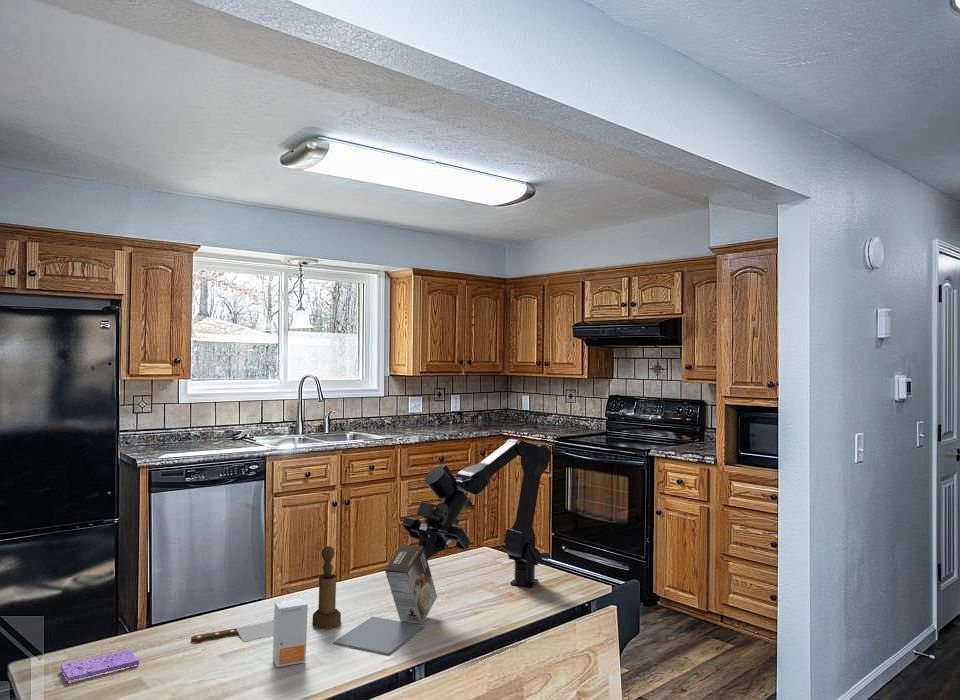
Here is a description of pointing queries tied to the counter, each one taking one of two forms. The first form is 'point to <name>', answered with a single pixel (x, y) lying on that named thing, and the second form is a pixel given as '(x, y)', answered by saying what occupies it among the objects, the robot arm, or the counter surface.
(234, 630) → the kitchen cleaver
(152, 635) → the counter surface
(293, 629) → the skincare box
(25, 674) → the counter surface
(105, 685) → the counter surface
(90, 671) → the sponges
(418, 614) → the coffee box
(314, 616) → the mortar and pestle
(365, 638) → the mat
